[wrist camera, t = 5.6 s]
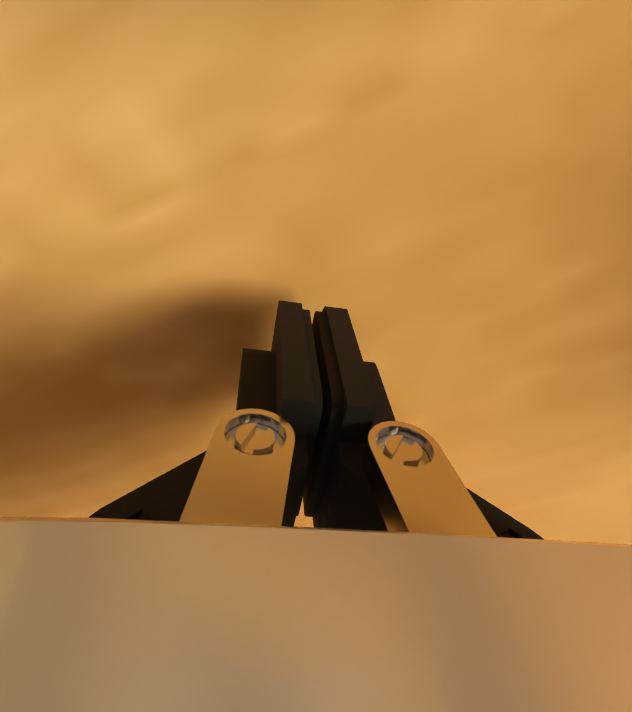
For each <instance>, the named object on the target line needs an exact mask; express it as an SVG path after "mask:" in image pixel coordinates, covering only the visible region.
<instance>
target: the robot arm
mask: <svg viewBox="0 0 632 712" xmlns="http://www.w3.org/2000/svg"><path fill="white" fill-rule="evenodd" d="M302 498H303V503H304V514H305V516H308V517H313V524H314V528H311V527H294V522H295V518H296V516H298V514H299V511H300V506H301V502H302ZM0 712H632V545H628V544H609V543H592V542H575V541H558V540H544V539H543V538H542V537H540V536H539V535H538V534H536V533H535V532H534V531H532V530H531V529H529V528H528V527H526V526H525V525H523V524H522V523H520V522H518V521H517V520H515V519H514V518H512V517H511V516H509V515H508V514H506V513H504V512H503V511H501V510H500V509H498V508H497V507H495V506H494V505H492V504H490V503H489V502H487V501H486V500H484V499H483V498H481V497H480V496H478V495H476V494H475V493H473V492H472V491H470V490H469V489H467V488H466V487H465V486H464V484H463V482H462V481H461V479H460V478H459V476H458V475H457V473H456V471H455V470H454V468H453V467H452V465H451V464H450V462H449V460H448V459H447V457H446V456H445V454H444V452H443V451H442V449H441V448H440V446H439V445H438V443H437V442H436V441H435V440H434V439H433V437H432V436H430V435H429V434H428V433H426V432H425V431H424V430H422V429H420V428H418V427H416V426H414V425H411V424H408V423H404V422H398V421H395V418H394V415H393V412H392V409H391V406H390V403H389V400H388V398H387V395H386V392H385V389H384V386H383V383H382V380H381V377H380V375H379V372H378V369H377V366H376V364H375V363H373V362H364V361H363V359H362V356H361V353H360V350H359V346H358V343H357V340H356V337H355V333H354V330H353V327H352V324H351V320H350V317H349V314H348V311H347V309H342V308H334V307H326V306H325V307H324V309H323V311H322V312H319V311H316V312H315V314H314V318H313V323H311V317H310V311H309V310H303V309H302V304H301V303H294V302H286V301H279V303H278V309H277V315H276V322H275V329H274V336H273V342H272V349H271V351H263V350H254V349H245V348H243V353H242V362H241V371H240V379H239V389H238V398H237V407H236V411H234V412H232V413H229V414H228V415H226V416H225V417H223V418H222V419H221V420H220V422H219V423H218V425H217V426H216V429H215V431H214V434H213V436H212V439H211V441H210V444H209V446H208V449H207V451H205V452H203V453H201V454H199V455H198V456H196V457H194V458H192V459H190V460H188V461H187V462H185V463H183V464H181V465H179V466H177V467H176V468H174V469H172V470H170V471H168V472H167V473H165V474H163V475H161V476H159V477H157V478H156V479H154V480H152V481H150V482H148V483H146V484H145V485H143V486H141V487H139V488H137V489H135V490H134V491H132V492H130V493H128V494H126V495H124V496H123V497H121V498H119V499H117V500H115V501H113V502H112V503H110V504H108V505H106V506H104V507H102V508H101V509H99V510H98V511H97V512H95V513H94V514H92V515H91V516H90V517H89V518H62V517H0Z"/></svg>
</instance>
